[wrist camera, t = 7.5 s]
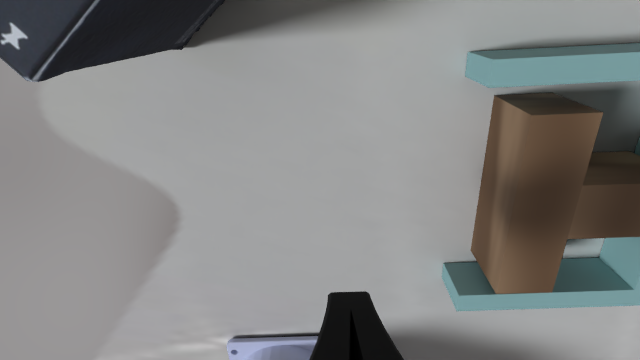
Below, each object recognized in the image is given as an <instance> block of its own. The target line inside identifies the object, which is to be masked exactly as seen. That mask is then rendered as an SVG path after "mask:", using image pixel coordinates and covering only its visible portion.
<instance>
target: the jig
mask: <svg viewBox="0 0 640 360" xmlns="http://www.w3.org/2000/svg"><path fill="white" fill-rule="evenodd" d="M465 76H466V77H468V78H470V79H472V80H474V81H476V82H478V83H480V84H482V85H484V86H486V87H488V88H495V87H515V86H536V85H556V84H576V83H596V82H616V81H636V80H640V43H628V44H609V45H590V46H570V47H551V48H532V49H513V50H494V51H475V52H468V56H467V65H466V73H465ZM634 153H635V154H637V155H639V156H640V137H639V140H638V143H637V146H636V149H635V152H634ZM442 279H443V281H444V283H445V286H446V288H447V290H448V293H449V295H450V297H451V299H452V302H453V304H454V306H455V308H456V311H478V310H509V309H540V308H571V307H602V306H633V305H640V237H621V238H605V241H604V244H603V247H602V250H601V253H600V256H599V258H574V259H562V260H561V263H560V267H559V270H558V274H557V277H556V281H555V284H554V288H553V291H552V293H512V294H496V293H495V291H494V289H493V288H492V286H491V284H490V283H489V281H488V279H487V277H486V276H485V274H484V272H483V271H482V269H481V267H480V265H479V264H478V262H463V263H444V264H443V273H442Z"/></svg>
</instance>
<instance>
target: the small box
mask: <svg viewBox="0 0 640 360" xmlns="http://www.w3.org/2000/svg"><path fill="white" fill-rule="evenodd" d="M224 1H225V0H0V58H1V59H2V60H3V61H4V62H6V63H7V64H8V65H9V66H10V67H11V68H12V69H14V70H15V71H16V72H17V73H18V74H19V75H21V76H22V77H23V78H24V79H25V80H27V81H32V82H39V81H44V80H47V79H50V78H52V77H55V76H58V75H60V74H63V73H65V72H69V71H73V70H78V69H82V68H86V67H92V66H97V65H102V64H107V63H111V62H116V61H120V60H124V59H129V58H135V57H139V56H145V55H149V54H153V53H156V52H162V51H167V50H176V49H177V50H178V49H180V50H182V49H183V46H184V45H186V44H187V43H188V42H189V40H190V39H191V36H192V35H193V34H194V33H195V32H196V31H198V30H199V29H200V26H201V25H203V24H204V22H205V21H206V20H207V19H208V17H209V16H211V15H212V13H213V12H214V11H215V10H216V9H217V8H218V7H219V6H220V5H221V4H223V2H224Z"/></svg>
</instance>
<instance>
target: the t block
mask: <svg viewBox="0 0 640 360" xmlns="http://www.w3.org/2000/svg"><path fill="white" fill-rule="evenodd" d="M602 115H603V112H601V111H598V110H596V109H593V108H591V107H588V106H585V105H583V104H580V103H578V102H575V101H572V100H570V99H567V98H565V97H562V96H559V95H557V94H554V93H534V94H513V95H494V101H493V107H492V114H491V120H490V127H489V134H488V140H487V147H486V153H485V160H484V167H483V173H482V180H481V186H480V193H479V200H478V206H477V213H476V219H475V226H474V232H473V239H472V246H471V252H472V253H473V255H474V257H475V258H476V260H477V262H478V264H479V265H480V267H481V269H482V271H483V272H484V274H485V276H486V277H487V279H488V281H489V283H490V284H491V286H492V288H493V289H494V291H495V293H496V294H512V293H552V291H553V288H554V284H555V281H556V277H557V274H558V270H559V267H560V263H561V260H562V256H563V253H564V249H565V246H566V242H567V239H586V238H621V237H640V156H639V155H637V154H635V153H632V152H630V151H620V152H593V153H592V151H593V147H594V143H595V140H596V136H597V133H598V129H599V126H600V122H601V119H602Z"/></svg>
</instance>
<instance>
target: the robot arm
mask: <svg viewBox="0 0 640 360" xmlns="http://www.w3.org/2000/svg"><path fill="white" fill-rule="evenodd" d="M227 351H228V355H229V359H230V360H404V359H403V357H402V356H401V354H400V353H399V351H398V350H397V348H396V346H395V345H394V343H393V341H392V340H391V338H390V336H389V335H388V333H387V331H386V329H385V328H384V326H383V324H382V322H381V320H380V318H379V316H378V314H377V312H376V310H375V308H374V305H373V303H372V300H371V298H370V294H369V293H367V292H334V293H330V294H329V295H328V302H327V308H326V313H325V317H324V320H323V324H322V327H321V330H320V333H319V336H303V337H271V338H238V339H230V340H229V341H228V343H227Z"/></svg>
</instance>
